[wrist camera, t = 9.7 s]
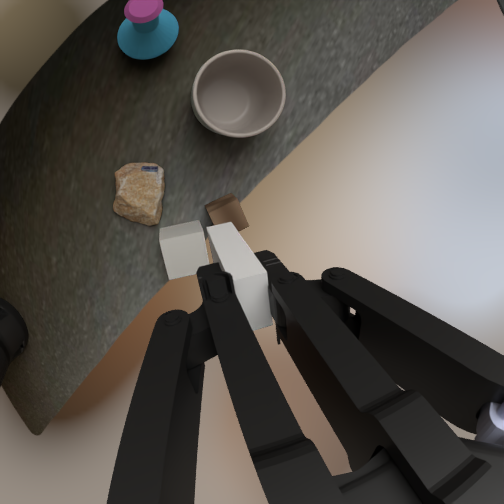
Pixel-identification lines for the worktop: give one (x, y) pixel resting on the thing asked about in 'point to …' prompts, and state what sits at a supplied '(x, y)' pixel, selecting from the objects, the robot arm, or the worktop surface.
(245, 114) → the planter
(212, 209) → the walnut block
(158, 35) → the perfume bottle
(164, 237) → the block
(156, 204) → the stone
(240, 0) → the worktop surface
